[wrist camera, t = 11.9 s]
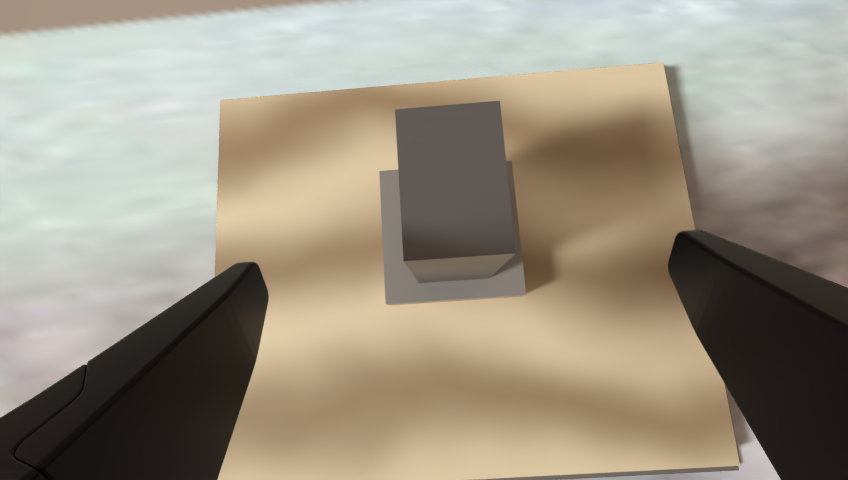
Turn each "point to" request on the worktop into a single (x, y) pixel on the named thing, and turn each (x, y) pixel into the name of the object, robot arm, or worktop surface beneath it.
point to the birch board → (472, 319)
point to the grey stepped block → (450, 208)
